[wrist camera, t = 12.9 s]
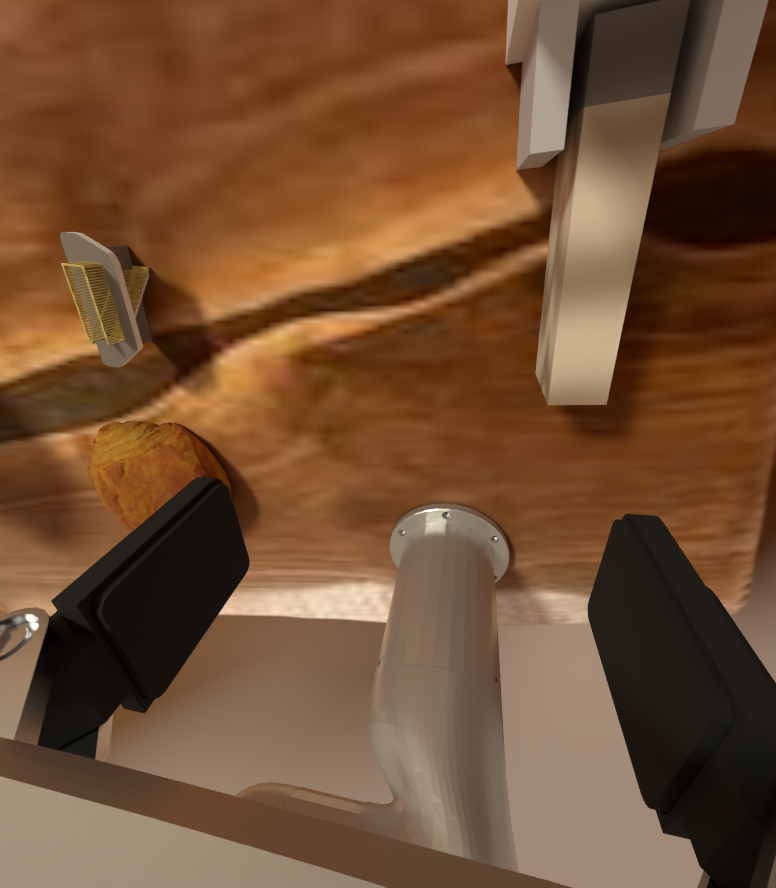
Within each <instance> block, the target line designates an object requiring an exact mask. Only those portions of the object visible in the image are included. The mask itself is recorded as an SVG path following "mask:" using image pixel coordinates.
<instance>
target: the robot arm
mask: <svg viewBox="0 0 776 888" xmlns="http://www.w3.org/2000/svg"><path fill="white" fill-rule="evenodd" d="M390 554H391V557H392V559H393V562H394V563H395V565H396V566H397V568H398V574H397V578H396V583H395V587H394V592H393V597H392V601H391V606H390V610H389V615H388V619H387V624H386V628H385V633H384V637H383V642H382V647H381V651H380V656H379V661H378V665H377V669H376V674H375V678H374V683H373V688H372V693H371V698H370V702H369V710H368V726H369V735H370V739H371V743H372V747H373V750H374V753H375V756H376V758H377V761H378V763H379V766H380V768H381V770H382V773H383V775H384V777H385V779H386V782H387V784H388V786H389V788H390V791H391V793H392V795H393V798H394V800H393V801H392V802H391V803H389V804H377V803H372V802H362V801H357V800H353V799H349V798H345V797H341V796H337V795H333V794H328V793H324V792H320V791H316V790H312V789H308V788H304V787H297V786H293V785H288V784H281V783H260V784H257V785H253V786H251V787H248V788H246V789H245V790H243V791H241V792H240V793H238V794H237V795H236V796H232V795H229V794H225V793H221V792H217V791H214V790H210V789H206V788H202V787H198V786H195V785H191V784H187V783H183V782H179V781H175V780H172V779H168V778H163V777H160V776H156V775H152V774H149V773H145V772H141V771H137V770H133V769H129V768H126V767H122V766H118V765H114V764H110V763H108V758H109V748H110V737H111V728H112V716H113V713H114V711H115V710H116V709H117V707H118V706H119V705H120V704H121V705H122V706H123V708H124V709H128V710H133V711H137V712H141V713H145V712H146V711H147V709H148V708H149V707H150V705H151V704H152V702H153V701H154V699H156V698H159V697H160V696H161V695H162V694H163V693H164V692H165V691H166V690H167V688H168V687H169V685H170V684H171V682H172V681H173V679H174V678H175V676H176V675H177V674H178V672H179V671H180V669H181V668H182V666H183V665H184V663H185V662H186V660H187V659H188V657H189V656H190V654H191V653H192V651H193V650H194V649H195V647H196V646H197V644H198V643H199V641H200V640H201V638H202V637H203V636H204V634H205V633H206V631H207V629H208V628H209V627H210V625H211V623H212V622H213V621H214V619H215V618H216V617H217V615H218V614H219V612H220V611H221V609H222V608H223V606H224V605H225V603H226V602H227V600H228V599H229V598H230V596H231V595H232V593H233V592H234V590H235V589H236V587H237V586H238V584H239V583H240V581H241V580H242V579H243V577H244V576H245V574H246V572H247V570H248V568H249V557H248V553H247V550H246V546H245V543H244V539H243V536H242V533H241V529H240V526H239V522H238V519H237V515H236V512H235V508H234V505H233V502H232V498H231V495H230V491H229V489H228V487H227V486H226V485H224V483H223V482H222V481H221V480H220V479H217V478H205V477H197V478H195V479H193V480H192V481H191V482H190V483H189V484H187V485H186V486H185V487H184V488H183V489H182V490H180V491H179V492H178V493H177V494H176V495H175V496H173V497H172V498H171V499H170V500H169V501H168V502H166V503H165V504H164V505H163V506H162V507H161V508H159V509H158V510H157V511H156V512H155V513H153V514H152V515H151V516H150V517H149V518H148V519H146V520H145V521H144V522H143V523H142V524H141V525H139V526H138V527H137V528H136V529H135V530H134V531H132V532H131V533H130V534H129V535H128V536H127V537H125V538H124V539H123V540H122V541H121V542H120V543H118V544H117V545H116V546H115V547H114V548H112V549H111V550H110V551H109V552H108V553H107V554H105V555H104V556H103V557H102V558H101V559H100V560H98V561H97V562H96V563H95V564H94V565H93V566H91V567H90V568H89V569H88V570H87V571H86V572H84V573H83V574H82V575H81V576H80V577H79V578H77V579H76V580H75V581H74V582H73V583H72V584H70V585H69V586H68V587H67V588H66V589H64V590H63V591H62V592H61V593H60V594H59V595H57V596H56V597H55V598H54V599H53V600H52V603H53V604H54V606H55V607H56V609H57V610H58V611H57V612H56V613H55V614H53V615H52V616H51V617H50V616H49V615H48V613H47V612H46V611H45V610H44V609H40V608H37V607H36V608H24V609H20V610H16V611H12V612H10V613H7V614H5V615H3V616H0V888H571V887H568V886H564V885H561V884H558V883H554V882H551V881H547V880H544V879H540V878H536V877H532V876H529V875H525V874H522V873H519V871H518V865H517V859H516V852H515V846H514V839H513V832H512V825H511V817H510V808H509V799H508V789H507V779H506V766H505V752H504V735H503V718H502V703H501V685H500V684H501V683H500V665H499V647H498V628H497V609H496V591H495V583H496V582H497V581H498V580H499V579H500V578H501V577H502V576H503V575H504V573H505V571H506V569H507V568H508V563H509V548H508V543H507V540H506V537H505V535H504V533H503V532H502V530H501V529H500V528H499V527H498V525H497V524H496V523H494V522H493V521H492V520H491V519H490V518H489V517H487V516H485V515H484V514H482V513H480V512H478V511H476V510H473V509H471V508H468V507H464V506H460V505H456V504H444V503H443V504H431V505H426V506H422V507H419V508H417V509H414V510H412V511H410V512H409V513H407V514H406V515H404V516H403V517H402V518H401V519H400V520H399V521H398V522H397V524H396V526H395V527H394V529H393V532H392V535H391V539H390ZM588 618H589V622H590V625H591V629H592V632H593V635H594V639H595V642H596V645H597V649H598V652H599V655H600V659H601V662H602V665H603V669H604V672H605V675H606V679H607V682H608V685H609V689H610V692H611V695H612V699H613V702H614V705H615V709H616V712H617V715H618V719H619V722H620V725H621V729H622V732H623V735H624V738H625V742H626V745H627V749H628V752H629V755H630V759H631V762H632V765H633V768H634V772H635V775H636V779H637V782H638V785H639V789H640V792H641V795H642V797H643V800H644V801H645V804H646V805H647V806H648V807H649V808H650V809H654V810H656V812H657V816H658V819H659V822H660V825H661V828H662V831H663V833H665V834H669V835H674V836H678V837H682V838H687V839H690V840H691V843H692V846H693V849H694V851H695V854H696V857H697V860H698V862H699V865H700V867H701V868H702V869H703V870H704V871H703V874H702V877H701V879H700V882H699V885H698V888H776V683H775V681H774V680H773V678H772V677H771V675H770V674H769V673H768V671H767V670H766V668H765V667H764V665H763V664H762V662H761V661H760V659H759V658H758V656H757V655H756V653H755V652H754V650H753V649H752V647H751V646H750V645H749V643H748V642H747V640H746V639H745V637H744V636H743V634H742V633H741V631H740V630H739V628H738V627H737V625H736V624H735V622H734V621H733V619H732V618H731V617H730V615H729V614H728V612H727V611H726V609H725V608H724V606H723V605H722V603H721V602H720V600H719V599H718V597H717V596H716V595H715V594H714V593H713V591H712V590H711V589H709V588H708V587H706V586H705V584H704V583H703V581H702V580H701V578H700V577H699V575H698V574H697V572H696V571H695V569H694V568H693V566H692V565H691V563H690V562H689V560H688V559H687V557H686V556H685V554H684V553H683V551H682V550H681V548H680V547H679V545H678V544H677V542H676V541H675V539H674V538H673V536H672V535H671V533H670V532H669V530H668V529H667V527H666V526H665V524H664V523H663V521H662V520H661V519H660V518H659V517H657V516H649V515H637V514H625V515H624V517H623V518H622V520H615V521H614V522H613V525H612V528H611V531H610V534H609V538H608V541H607V544H606V547H605V551H604V554H603V557H602V560H601V564H600V567H599V570H598V573H597V577H596V580H595V583H594V586H593V590H592V593H591V596H590V599H589V603H588Z"/></svg>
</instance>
